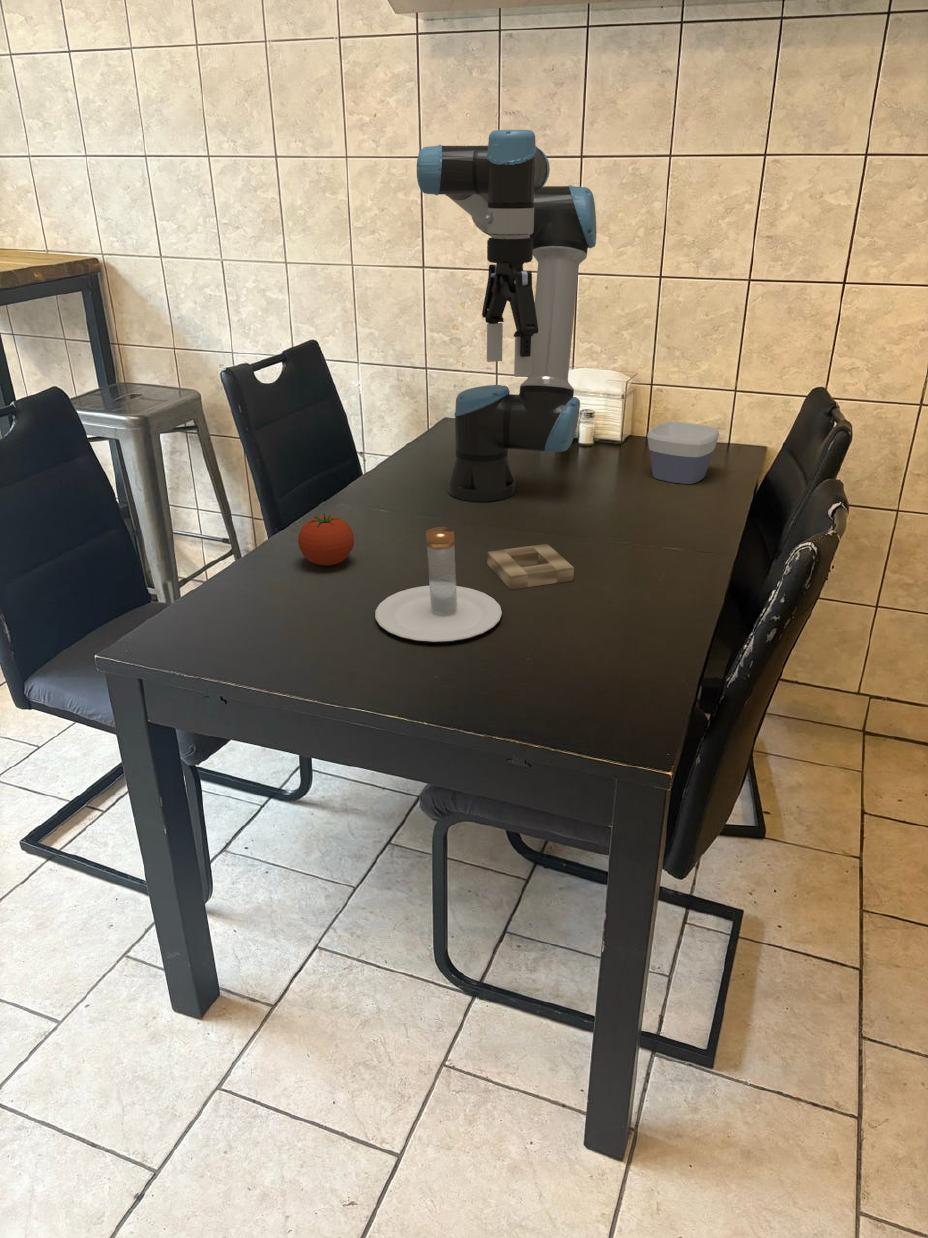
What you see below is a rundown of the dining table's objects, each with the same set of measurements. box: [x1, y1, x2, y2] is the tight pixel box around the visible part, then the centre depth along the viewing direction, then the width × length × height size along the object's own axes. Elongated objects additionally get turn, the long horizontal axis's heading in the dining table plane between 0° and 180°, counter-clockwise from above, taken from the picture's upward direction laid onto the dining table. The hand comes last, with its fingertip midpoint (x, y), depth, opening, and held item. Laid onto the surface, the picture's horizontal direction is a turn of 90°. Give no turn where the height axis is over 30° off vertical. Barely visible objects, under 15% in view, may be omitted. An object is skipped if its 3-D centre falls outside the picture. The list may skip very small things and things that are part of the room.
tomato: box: [297, 512, 355, 567], centre depth 168 cm, size 10×10×10 cm
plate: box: [374, 585, 503, 644], centre depth 150 cm, size 21×21×2 cm
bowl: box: [646, 421, 720, 485], centre depth 214 cm, size 15×15×11 cm
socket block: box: [486, 543, 575, 590], centre depth 165 cm, size 12×12×2 cm
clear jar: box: [425, 526, 457, 611], centre depth 148 cm, size 4×4×13 cm
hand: (507, 368), depth 159 cm, fingers open, 13 cm apart
